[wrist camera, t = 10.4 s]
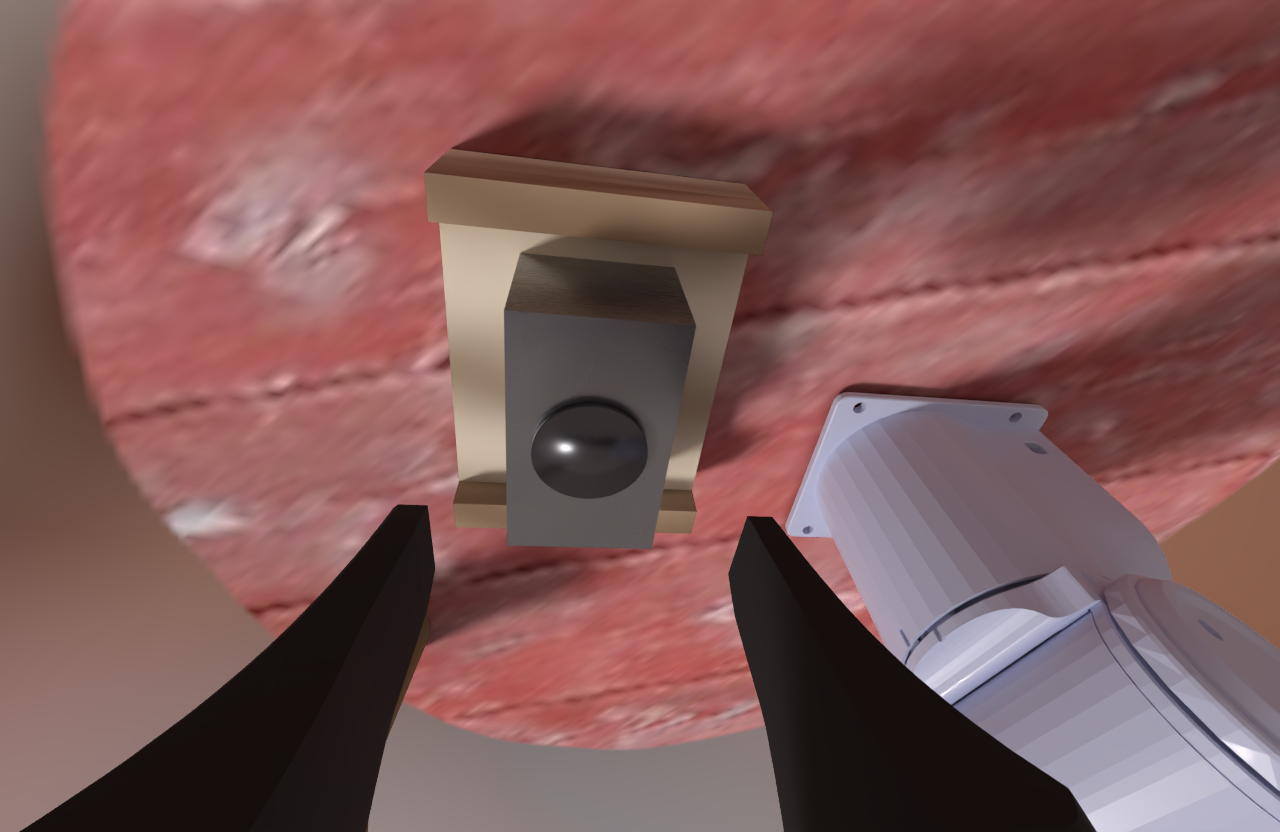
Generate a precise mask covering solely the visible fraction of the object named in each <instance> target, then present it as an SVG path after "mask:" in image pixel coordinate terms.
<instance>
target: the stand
mask: <svg viewBox="0 0 1280 832" xmlns="http://www.w3.org/2000/svg"><path fill="white" fill-rule="evenodd" d="M424 178H425V189H426V200H427V212H428V222H434V223H439V224H440V237H441V250H442V263H443V276H444V289H445V302H446V315H447V328H448V341H449V354H450V367H451V380H452V393H453V406H454V419H455V432H456V445H457V459H458V472H459V484H458V488H457V491H456V495H455V499H454V502H453V508H454V519H455V527H472V528H507V499H506V426H505V353H504V308H505V305H506V301H507V297H508V294H509V290H510V287H511V283H512V280H513V276H514V273H515V269H516V266H517V262H518V258H519V255H520V253H528V254H538V255H549V256H559V257H570V258H580V259H591V260H601V261H612V262H622V263H633V264H643V265H654V266H664V267H675V270H676V272H677V275H678V278H679V280H680V283H681V286H682V289H683V291H684V294H685V297H686V299H687V302H688V305H689V307H690V310H691V313H692V315H693V318H694V321H695V323H696V330H695V335H694V340H693V345H692V350H691V355H690V360H689V365H688V370H687V375H686V380H685V385H684V390H683V395H682V400H681V405H680V410H679V415H678V420H677V425H676V430H675V435H674V440H673V444H672V449H671V454H670V459H669V464H668V469H667V474H666V479H665V484H664V489H663V494H662V499H661V504H660V509H659V514H658V519H657V524H656V529H655V533H689V534H691V532H692V528H693V524H694V520H695V517H696V513H697V511H696V506H695V502H694V498H693V493H692V487H693V483H694V479H695V475H696V471H697V467H698V462H699V458H700V454H701V450H702V446H703V442H704V438H705V433H706V429H707V425H708V421H709V417H710V413H711V409H712V404H713V400H714V396H715V392H716V388H717V384H718V380H719V375H720V371H721V367H722V363H723V359H724V355H725V351H726V346H727V342H728V338H729V334H730V330H731V326H732V322H733V317H734V313H735V309H736V305H737V301H738V297H739V292H740V288H741V284H742V280H743V276H744V272H745V268H746V263H747V259H748V255H749V254H751V255H761V256H762V254H763V251H764V247H765V243H766V239H767V235H768V231H769V227H770V223H771V219H772V215H773V211H772V210H771V209H770V208H769V207H768V206H767V205H766V204H765V203H764V202H763V201H762V200H761V199H760V198H759V197H758V196H757V195H756V194H755V193H754V192H753V191H752V190H751V189H750V188H749V187H748V186H747V185H746V184H740V183H732V182H723V181H715V180H707V179H698V178H690V177H682V176H673V175H665V174H657V173H648V172H640V171H631V170H623V169H615V168H606V167H598V166H590V165H581V164H573V163H564V162H556V161H548V160H539V159H531V158H523V157H514V156H506V155H497V154H489V153H481V152H472V151H464V150H456V149H449V150H448V151H447V152H446V153H445V154H444V155H442V156H441V157H440V158H439V159H438V160H437V161H436V162H435V163H434V164H433V165H432V166H431V167H429V168H428V169H427V170H426V171H425V172H424Z"/></svg>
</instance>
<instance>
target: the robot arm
mask: <svg viewBox="0 0 1280 832" xmlns="http://www.w3.org/2000/svg"><path fill="white" fill-rule="evenodd" d="M861 402H862V403H861ZM858 403H861V405H860V406H858V407H856V408H854V406H855V405H856V404H858ZM1013 414H1014V415H1013ZM1047 417H1048V411H1047V410H1046V409H1045V408H1043V407H1042V406H1041V405H1036V404H1021V403H1006V402H991V401H976V400H961V399H946V398H931V397H916V396H901V395H886V394H871V393H856V392H844V393H842V394H840V395H838V396H837V397H836V398H835V399H834V401H833V403H832V406H831V409H830V411H829V414H828V416H827V419H826V421H825V424H824V427H823V429H822V432H821V434H820V437H819V439H818V442H817V445H816V447H815V450H814V452H813V455H812V457H811V460H810V463H809V465H808V468H807V470H806V473H805V475H804V478H803V481H802V483H801V486H800V488H799V491H798V494H797V496H796V499H795V501H794V504H793V506H792V509H791V512H790V514H789V517H788V519H787V522H786V525H785V527H786V530H787V532H788V534H789V535H791V536H799V537H833V539H834V541H835V543H836V545H837V548H838V550H839V552H840V554H841V556H842V558H843V560H844V562H845V564H846V566H847V568H848V570H849V572H850V574H851V576H852V578H853V581H854V583H855V585H856V587H857V589H858V591H859V593H860V595H861V597H862V599H863V601H864V603H865V605H866V607H867V609H868V611H869V614H870V616H871V618H872V620H873V622H874V624H875V626H876V628H877V630H878V632H879V634H880V636H881V638H882V640H883V642H884V644H885V646H884V645H882V644H881V643H880V642H879V641H878V640H877V639H876V638H875V637H874V636H873V635H872V634H871V633H870V632H869V631H868V630H867V629H866V628H865V626H864V625H863V624H862V623H861V622H860V621H859V620H858V619H857V618H856V617H855V616H854V615H853V614H852V613H851V612H850V610H849V609H848V608H847V607H846V606H845V605H844V604H843V603H842V602H841V600H840V599H839V598H838V597H837V596H836V595H835V594H834V592H833V591H832V590H831V589H830V588H829V587H828V585H827V584H826V583H825V582H824V581H823V579H822V578H821V577H820V576H819V575H818V574H817V572H816V571H815V570H814V569H813V567H812V566H811V565H810V564H809V563H808V561H807V560H806V559H805V558H804V556H803V555H802V554H801V553H800V551H799V550H798V549H797V547H796V546H795V545H794V544H793V542H792V541H791V540H790V539H789V537H788V536H787V535H786V534H785V532H784V531H783V530H782V529H781V527H780V526H779V525H778V524H777V522H776V521H775V520H774V519H773V517H756V516H747V519H746V522H745V525H744V528H743V531H742V534H741V537H740V540H739V543H738V546H737V549H736V552H735V555H734V558H733V561H732V564H731V567H730V570H729V573H728V574H729V581H730V588H731V595H732V601H733V607H734V613H735V618H736V622H737V625H738V629H739V632H740V636H741V640H742V643H743V647H744V650H745V654H746V657H747V661H748V664H749V668H750V671H751V675H752V678H753V682H754V685H755V689H756V692H757V696H758V699H759V703H760V706H761V710H762V714H763V718H764V722H765V726H766V730H767V736H768V741H769V746H770V751H771V757H772V762H773V768H774V773H775V779H776V785H777V791H778V797H779V803H780V808H781V815H782V821H783V828H784V832H1280V650H1279V649H1278V648H1276V647H1275V646H1274V645H1273V644H1271V643H1270V642H1269V641H1267V640H1266V639H1265V638H1264V637H1262V636H1261V635H1260V634H1258V633H1257V632H1256V631H1254V630H1253V629H1251V628H1250V627H1249V626H1247V625H1246V624H1245V623H1243V622H1242V621H1240V620H1239V619H1238V618H1236V617H1235V616H1233V615H1232V614H1230V613H1229V612H1228V611H1226V610H1225V609H1223V608H1222V607H1220V606H1218V605H1217V604H1215V603H1214V602H1212V601H1211V600H1209V599H1207V598H1205V597H1204V596H1202V595H1201V594H1199V593H1197V592H1195V591H1193V590H1192V589H1189V588H1187V587H1186V586H1183V585H1181V584H1178V583H1175V582H1173V581H1172V576H1171V572H1170V569H1169V566H1168V563H1167V561H1166V558H1165V556H1164V553H1163V551H1162V550H1161V548H1160V546H1159V544H1158V543H1157V541H1156V539H1155V538H1154V536H1153V535H1152V534H1151V532H1150V531H1149V530H1148V529H1147V528H1146V527H1145V526H1144V524H1143V523H1142V522H1141V521H1140V520H1139V519H1137V518H1136V517H1135V516H1134V515H1133V514H1132V513H1131V512H1130V511H1128V510H1127V509H1126V508H1125V507H1124V506H1123V505H1122V504H1121V503H1119V502H1118V501H1117V500H1116V499H1115V498H1114V497H1113V496H1112V495H1111V494H1109V493H1108V492H1107V491H1106V490H1105V489H1104V488H1103V487H1102V486H1100V485H1099V484H1098V483H1097V482H1096V481H1095V480H1094V479H1093V478H1091V477H1090V476H1089V475H1088V474H1087V473H1086V472H1085V471H1084V470H1082V469H1081V468H1080V467H1079V466H1078V465H1077V464H1076V463H1075V462H1074V461H1072V460H1071V459H1070V458H1069V457H1068V456H1067V455H1066V454H1065V453H1063V452H1062V451H1061V450H1060V449H1059V448H1058V447H1057V446H1056V445H1054V444H1053V443H1052V442H1051V441H1050V440H1049V439H1048V438H1047V437H1045V436H1044V435H1043V434H1042V433H1041V432H1040V431H1039V430H1040V428H1041V427H1042V425H1043V424H1044V422H1045V421H1046V419H1047ZM807 526H808V527H807ZM805 527H806V528H805ZM434 572H435V562H434V554H433V546H432V538H431V530H430V521H429V513H428V506H427V505H397V506H396V507H394V508H393V509H392V511H391V512H390V513H389V515H388V516H387V517H386V518H385V520H384V521H383V522H382V524H381V525H380V526H379V527H378V529H377V530H376V531H375V532H374V534H373V535H372V536H371V537H370V539H369V540H368V541H367V542H366V544H365V545H364V546H363V547H362V548H361V550H360V551H359V552H358V553H357V554H356V556H355V557H354V558H353V559H352V560H351V561H350V562H349V564H348V565H347V566H346V567H345V568H344V569H343V570H342V571H341V573H340V574H339V575H338V576H337V577H336V578H335V579H334V581H333V582H332V583H331V584H330V585H329V586H328V587H327V588H326V589H325V590H324V592H323V593H322V594H321V595H320V596H319V597H318V598H317V599H316V600H315V601H314V602H313V603H312V604H311V605H310V606H309V607H308V608H307V609H306V610H305V611H304V612H303V613H302V614H301V615H300V616H299V617H298V618H297V619H296V620H295V621H294V622H293V623H292V624H291V625H290V626H289V627H288V628H287V629H286V630H285V631H284V632H283V633H282V634H281V635H280V636H279V637H278V638H277V639H276V640H275V641H274V642H273V643H271V644H270V646H268V647H267V648H266V649H265V650H264V651H263V652H262V653H261V654H260V655H258V656H257V657H256V658H255V659H254V660H253V661H252V662H251V663H249V664H248V665H247V666H246V667H245V668H244V669H243V670H242V671H240V672H239V673H238V674H237V675H235V676H234V677H233V678H232V679H231V680H230V681H228V682H227V683H226V684H225V685H223V686H222V687H221V688H220V689H219V690H218V691H217V692H215V693H214V694H213V695H212V696H210V697H209V698H208V699H207V700H205V701H204V702H203V703H202V704H200V705H199V706H198V707H197V708H196V709H194V710H193V711H192V712H191V713H189V714H188V715H187V716H185V717H184V718H183V719H181V720H180V721H179V722H177V723H176V724H174V725H173V726H172V727H170V728H169V729H168V730H166V731H165V732H164V733H162V734H161V735H160V736H158V737H157V738H156V739H154V740H153V741H152V742H150V743H149V744H147V745H146V746H145V747H143V748H142V749H141V750H139V751H138V752H137V753H135V754H134V755H133V756H131V757H130V758H129V759H127V760H126V761H124V762H123V763H122V764H120V765H119V766H117V767H116V768H115V769H113V770H112V771H110V772H109V773H107V774H106V775H105V776H103V777H102V778H100V779H98V780H97V781H95V782H94V783H93V784H91V785H89V786H88V787H87V788H85V789H84V790H82V791H80V792H79V793H77V794H76V795H75V796H73V797H72V798H70V799H69V800H67V801H66V802H64V803H63V804H61V805H60V806H58V807H57V808H55V809H54V810H52V811H51V812H49V813H48V814H46V815H45V816H43V817H42V818H40V819H39V820H37V821H35V822H34V823H32V824H31V825H29V826H28V827H26V828H25V829H23V830H21V831H20V832H366V828H367V823H368V819H369V814H370V810H371V805H372V800H373V796H374V791H375V786H376V782H377V778H378V773H379V769H380V765H381V760H382V756H383V751H384V747H385V742H386V738H387V735H388V731H389V728H390V724H391V721H392V717H393V714H394V711H395V708H396V705H397V702H398V699H399V696H400V693H401V689H402V686H403V683H404V680H405V677H406V674H407V671H408V668H409V665H410V662H411V659H412V656H413V653H414V650H415V647H416V644H417V641H418V637H419V634H420V631H421V628H422V625H423V622H424V619H425V616H426V612H427V607H428V603H429V598H430V593H431V588H432V583H433V578H434Z"/></svg>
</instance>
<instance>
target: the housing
mask: <svg viewBox="0 0 1280 832" xmlns="http://www.w3.org/2000/svg"><path fill="white" fill-rule="evenodd" d="M695 330H696V323H695V321H694V318H693V315H692V313H691V310H690V307H689V305H688V302H687V299H686V297H685V294H684V291H683V289H682V286H681V283H680V280H679V278H678V275H677V272H676V270H675V267H664V266H654V265H643V264H633V263H622V262H612V261H601V260H591V259H580V258H570V257H559V256H549V255H538V254H528V253H520V255H519V258H518V262H517V266H516V269H515V273H514V276H513V280H512V283H511V287H510V290H509V294H508V297H507V301H506V305H505V308H504V353H505V426H506V499H507V546H549V547H592V548H636V549H652V544H653V539H654V534H655V529H656V524H657V519H658V514H659V509H660V504H661V499H662V494H663V489H664V484H665V479H666V474H667V469H668V464H669V459H670V454H671V449H672V444H673V440H674V435H675V430H676V425H677V420H678V415H679V410H680V405H681V400H682V395H683V390H684V385H685V380H686V375H687V370H688V365H689V360H690V355H691V350H692V345H693V340H694V335H695Z"/></svg>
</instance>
